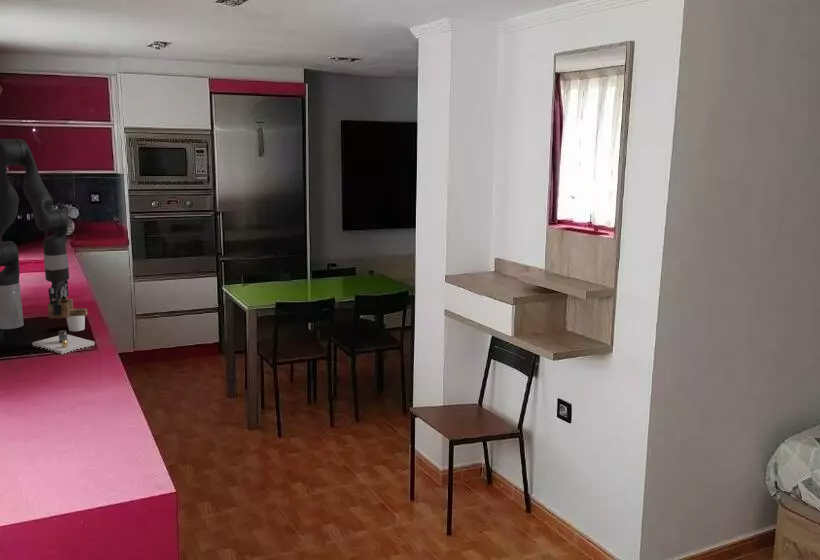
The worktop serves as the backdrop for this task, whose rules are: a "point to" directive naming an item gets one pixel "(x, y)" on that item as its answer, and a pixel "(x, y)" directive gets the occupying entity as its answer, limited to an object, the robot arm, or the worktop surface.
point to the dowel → (64, 343)
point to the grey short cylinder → (76, 323)
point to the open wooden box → (66, 310)
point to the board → (56, 346)
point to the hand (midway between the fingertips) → (60, 312)
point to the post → (62, 335)
